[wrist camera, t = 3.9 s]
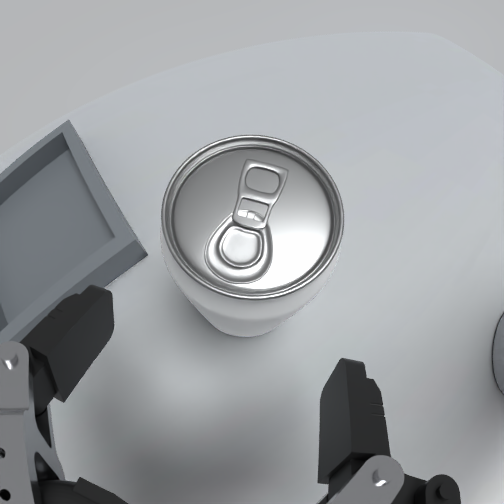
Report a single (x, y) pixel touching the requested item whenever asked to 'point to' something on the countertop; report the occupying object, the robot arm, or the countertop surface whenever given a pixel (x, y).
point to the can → (251, 231)
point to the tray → (56, 231)
